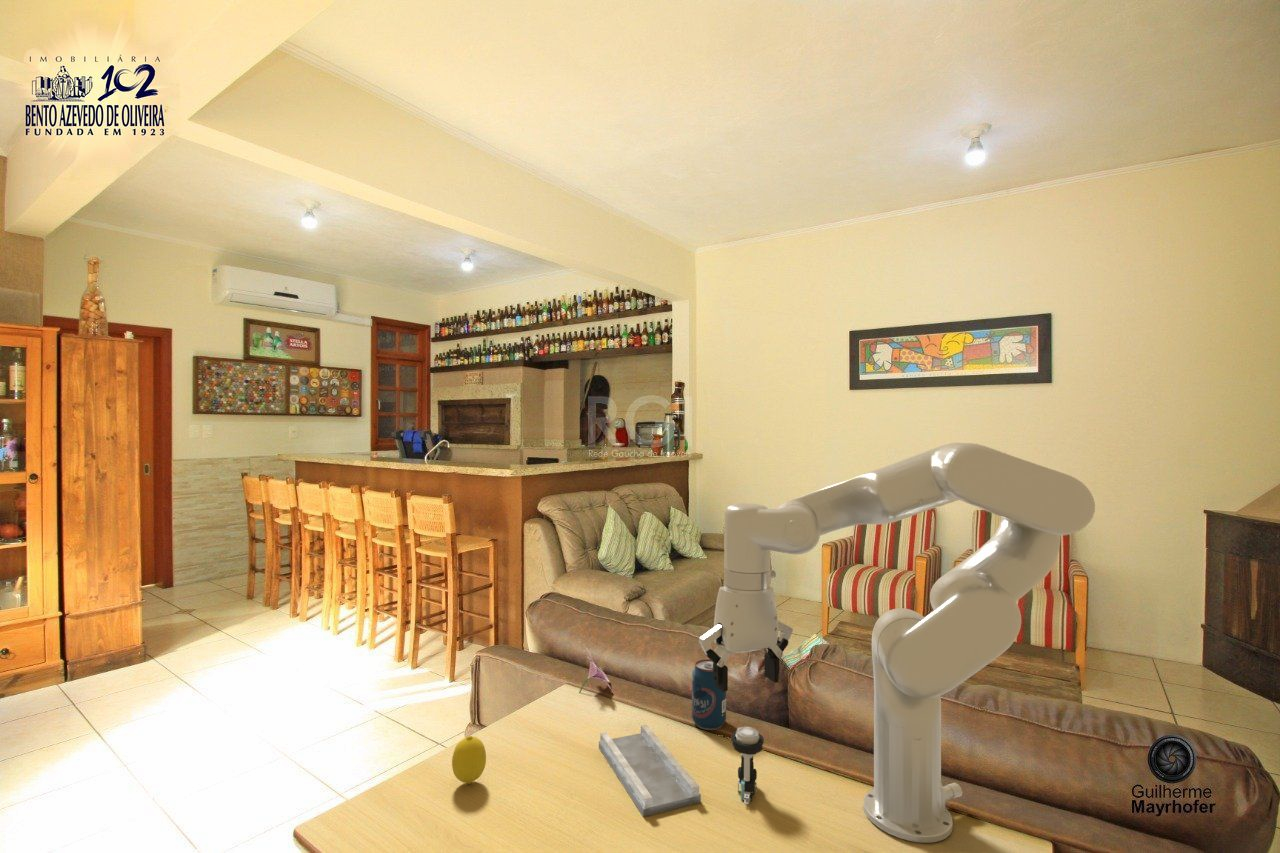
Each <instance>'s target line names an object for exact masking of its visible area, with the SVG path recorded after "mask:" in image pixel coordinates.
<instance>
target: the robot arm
mask: <svg viewBox="0 0 1280 853" xmlns="http://www.w3.org/2000/svg"><path fill="white" fill-rule="evenodd" d="M958 501H961V502H964V503H966V504H969V505H971V506H973V507H976V508H978V509H980V510H983V511H985V512H988V513H991V514H994V515H997V516H998V517H1000V520H999V525H998V527H997V529H996V531H995V533H994V534H993V535H992V536H991V537H990V539H988V540H987V541H986V542H985V543H984V544H982V546H981V547H979V548H978V549H977V550H976V551H974V552H973V553H972V554H970V555H969V556H968V557H966V558H965V559H964V560H962V561H961V562H959V563H958V564H957V565H956V566H954V567H953V568H952V569H950V570H949V571H947V572H946V573H945V574H943V575H942V576H941V577H939V578H938V579H937V580H936V581H935V582H934V584H932V587H931V590H930V593H929V601H930V605H931V608H932V611H931V612H930V613H929V614H927V615H925V616H924V615H922V614H921V613H919V612H917V611H915V610H913V609H909V608H903V607H901V608H900V607H899V608H893V609H890V610H887V611H886V612H884V613H883V614H881V615H880V616H879V617H878V619H877V620H876V622H875V624H874V626H873V629H872V633H871V634H872V635H871V655H872V656H871V658H872V672H873V705H874V706H873V788H872V789H870V790H869V791H867V792H866V793H865V795H864V797H863V804H862V806H863V810H864V813H865V815H866V816H867V818H868V819H869V820H870V822H871V823H873V824H874V825H875V826H876V827H877V828H879V829H880V830H882V831H883V832H885V833H886V834H889V835H891V836H892V837H896V838H899V839H901V840H905V841H908V842H914V843H920V844H921V843H923V844H930V843H937V842H940V841H943V840H945V839H948V837H950V835H951V834H952V832H953V826H954V824H953V817H952V814H951V813H950V812H949V810H948V809H947V807H946V804H948V803H949V801H950V800H953V799H956V798H959V797H962V795H963V789H962V787H961V786H960V784H958V783H957V782H952V783H949V784H945V785H944V786H943V783H942V699H941V697H942V696H943V695H945V694H947V693H949V692H951V691H952V690H954V689H955V688H957V687H958V686H960V685H961V684H963V683H964V682H965V681H967V680H968V679H969V678H971V677H972V676H974V675H975V674H976V673H978V672H979V671H981V670H982V669H983V668H985V667H986V666H988V665H989V664H990V663H992V662H993V661H994V660H996V659H998V657H999V656H1001V655H1002V654H1003V653H1005V652H1006V651H1007V650H1008V649H1009V648H1011V646H1012V645H1013V644H1014V642H1015V641H1016V640H1017V637H1018V636H1019V633H1020V630H1021V627H1022V614H1021V611H1020V607H1019V606H1018V603H1017V602H1018V601H1019V600H1020V599H1022V598H1023V597H1024V596H1026V594H1028V592H1030V591H1031V590H1032V589H1033V588H1035V587H1036V586H1037V585H1039V584H1040V583H1042V581H1043V580H1044V579H1045V578H1046V577H1047V576H1048V574H1049V573H1050V572H1051V570H1052V569H1053V567H1054V565H1055V564H1056V561H1057V558H1058V555H1059V551H1060V545H1061V536H1069V535H1072V534H1075V533H1077V532H1080V531H1082V530H1084V528H1086V527H1087V526H1088V525H1089V524H1090V523H1091V521H1092V519H1093V518H1094V515H1095V512H1096V504H1095V503H1096V502H1095V499H1094V496H1093V494H1092V492H1091V490H1090V489H1089V487H1088V486H1086V484H1085V483H1084V482H1082V481H1081V480H1079V479H1078V478H1076V477H1074V476H1072V475H1070V474H1067V473H1064V472H1060V471H1057V470H1055V469H1052V468H1049V467H1046V466H1044V465H1043V466H1042V465H1040V464H1036V463H1034V462H1031V461H1028V460H1025V459H1022V458H1019V457H1017V456H1013V455H1011V454H1009V453H1005V452H1002V451H999V450H998V449H994V448H992V447H989V446H986V445H984V444H983V445H982V444H978V443H971V442H952V443H947V444H943V445H941V446H938V447H935V448H933V449H930V450H927V451H924V452H921V453H918V454H916V455H913V456H910V457H908V458H905V459H902V460H899V461H897V462H894V463H892V464H888V465H885V466H883V467H881V468H877V469H874V470H872V471H869V472H866V473H862V474H859V475H857V476H854V477H852V478H850V479H847V480H845V481H842V482H839V483H838V482H837V483H835V484H832V485H828V486H825V487H823V488H820V489H817V490H814V491H812V492H809V493H806V494H804V495H801V496H798V497H796V498H792V499H790V500H788V501H786V502H782V503H781V505H779V506H778V507H777V508H768V507H767V506H764V504H757V503H735V504H734V503H733V504H730V505H729V506H727V507H726V509H725V511H724V521H723V522H724V523H723V524H724V526H723V527H724V534H723V535H724V536H723V537H724V539H723V540H724V541H723V542H724V543H723V544H724V549H723V551H724V554H723V555H724V558H723V559H724V560H723V576H724V577H723V582H724V583H723V586H719V589H718V592H717V596H716V602H715V608H714V619H713V627H712V628H711V629H709V630H708V631H707V632H705V633H704V634H703V635H701V636H700V637H699V638H698V644H699V645H700V647H701V649H702V651H703V654H704V655H705V656H706V657H707V658H708V659H709V660H711V661H712V662H713V682H714V684H715V686H716V687H718V688H719V689H720V690H721V691H723V692H726V693H727V691H728V690H729V689H728V688H729V685H728V684H729V683H728V682H729V681H728V680H729V679H728V678H729V677H728V676H729V674H728V673H729V672H728V671H729V669H728V666H727V665H725V664H726V663H727V662H728V660H729V658H730V657H731V655H732V654H742V653H749V652H753V651H755V652H756V651H761V650H766V651H767V652H764V653H765V654H764V677H765V678H767V679H768V680H770V681H771V682H773V683H775V684H777V683H779V679H780V678H779V676H780V675H779V674H780V658H783V655H784V651H785V650H786V648H787V647H788V646H789V640H790V638H791V636H792V633H793V631H794V630H793V627H791V626H789V625H787V624H784V623H783V622H780V621H779V620H778V617H779V616H778V608H777V607H778V606H777V600H776V596H775V592H774V587H772V586H771V584H772V583H771V581H772V580H773V579H775V578H776V576H777V573H776V571H775V569H772V568H771V552H778V553H782V554H787V555H793V556H794V555H795V556H796V555H797V556H798V555H804V554H808V553H809V552H811V551H812V550H813V549H814V548H815V547H817V545H818V543H819V542H820V541H819V540H820V538H821V537H820V536H823V535H826V534H829V533H831V532H835V531H838V530H841V529H845V528H848V527H854V526H859V525H875V526H877V525H887V524H892V523H896V522H899V521H902V520H904V519H908V518H910V517H914V516H915V515H918V514H921V513H924V512H927V511H930V510H933V509H936V508H938V507H943V506H945V505H948V504H951V503H955V502H958ZM779 631H780V633H779ZM712 643H714V644H715V645H716V647H715V648H714V649H713V647H712Z"/></svg>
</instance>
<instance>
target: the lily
mask: <svg viewBox="0 0 1280 853" xmlns="http://www.w3.org/2000/svg"><path fill="white" fill-rule="evenodd" d="M582 645H584V644H583V643H582ZM584 648H585V650H586V651H587V653H588V655H589V656H590V657H589V656H587V659H588V660H589V672H588V677H587V678H586V679H585V681H584V682H583V684H582V686H581V687H580V689H579V693H581V692H582V690H583V688H584V687H585V684H586V682H587V681H589V679H591V678H593V679H597V680H599V681H602V682H604V683H605V684H606V685H607V686H608V688H609V690H611V692H612V693H613V694H615V693H614V691H613V690H612V688H611V686H610V685H609V683H611V681H610V680H609V679H608V677H607V675H606V674H605V672H604V671H603V669H604V668H605V665H602V666H600V667H597V665H596V664H595V662H594V660H593V657H592V655H591V653H590V651H589V650H588V648H586V646H584ZM608 682H609V683H608Z"/></svg>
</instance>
